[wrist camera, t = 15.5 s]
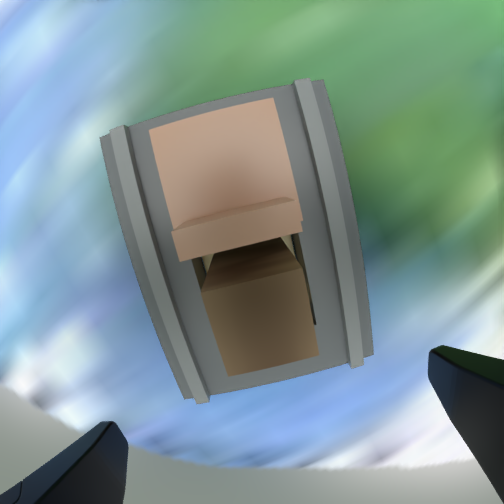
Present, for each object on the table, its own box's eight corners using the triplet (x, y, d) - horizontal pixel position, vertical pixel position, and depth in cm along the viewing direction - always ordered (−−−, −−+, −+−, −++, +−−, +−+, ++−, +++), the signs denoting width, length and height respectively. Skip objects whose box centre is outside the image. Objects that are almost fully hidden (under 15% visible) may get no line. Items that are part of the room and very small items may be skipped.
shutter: (271, 101, 14) (281, 78, 11) (300, 218, 16) (318, 230, 12) (152, 132, 15) (127, 119, 11) (182, 247, 16) (166, 267, 12)
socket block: (311, 93, 17) (326, 75, 14) (358, 333, 21) (377, 360, 17) (119, 143, 18) (94, 136, 14) (190, 373, 21) (182, 406, 18)
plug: (280, 236, 19) (302, 267, 12) (293, 298, 20) (319, 355, 13) (214, 252, 19) (200, 292, 12) (231, 313, 20) (228, 376, 13)
